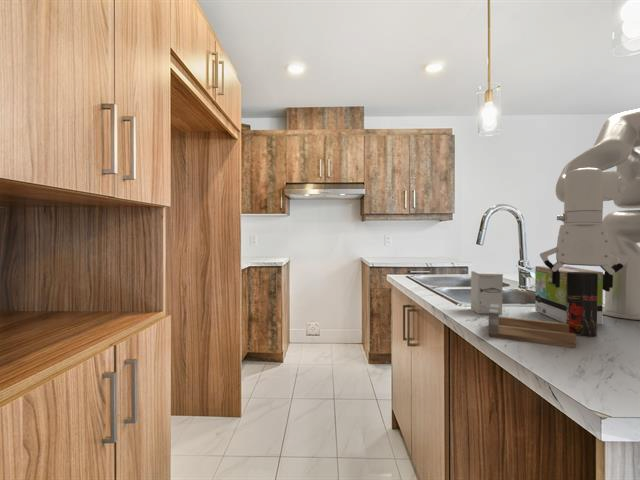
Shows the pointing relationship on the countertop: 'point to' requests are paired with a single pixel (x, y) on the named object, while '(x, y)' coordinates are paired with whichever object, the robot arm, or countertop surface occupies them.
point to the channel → (529, 330)
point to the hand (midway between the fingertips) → (580, 288)
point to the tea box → (560, 292)
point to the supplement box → (486, 291)
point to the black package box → (582, 303)
